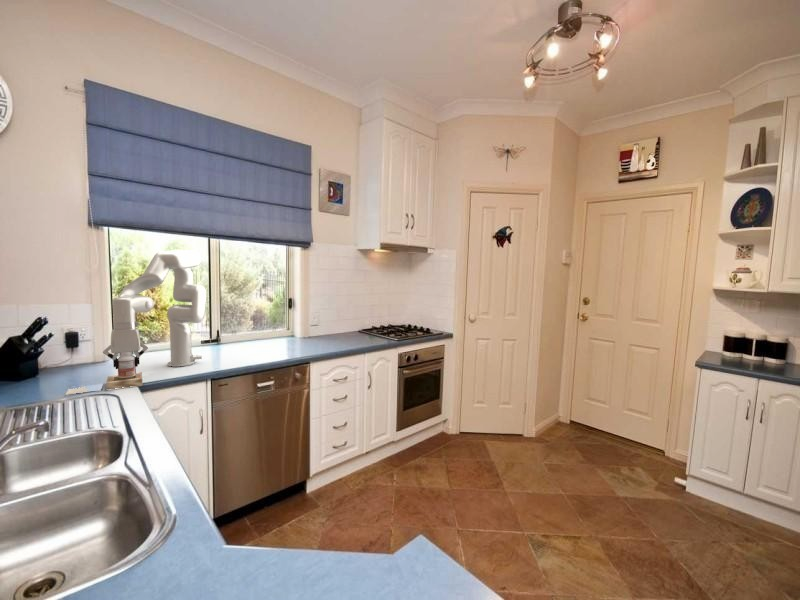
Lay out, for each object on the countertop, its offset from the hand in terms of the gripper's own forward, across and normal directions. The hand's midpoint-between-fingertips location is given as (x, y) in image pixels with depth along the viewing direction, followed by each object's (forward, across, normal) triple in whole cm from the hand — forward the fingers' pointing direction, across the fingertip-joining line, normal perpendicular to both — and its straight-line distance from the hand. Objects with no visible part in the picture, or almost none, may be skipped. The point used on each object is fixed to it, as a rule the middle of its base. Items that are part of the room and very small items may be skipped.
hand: (126, 366), depth 156 cm
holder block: (+8, +1, 0) cm, 8 cm away
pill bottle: (+4, 0, 0) cm, 4 cm away
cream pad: (+7, +14, 0) cm, 16 cm away
